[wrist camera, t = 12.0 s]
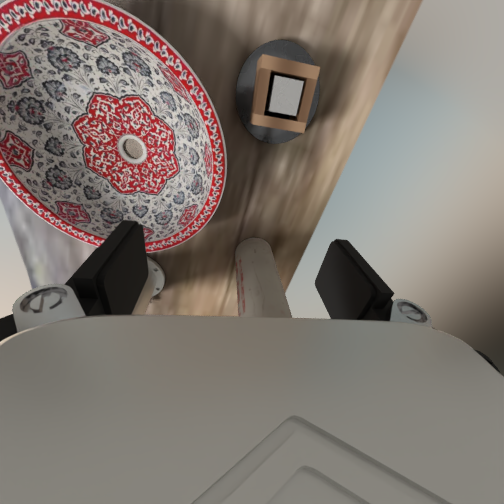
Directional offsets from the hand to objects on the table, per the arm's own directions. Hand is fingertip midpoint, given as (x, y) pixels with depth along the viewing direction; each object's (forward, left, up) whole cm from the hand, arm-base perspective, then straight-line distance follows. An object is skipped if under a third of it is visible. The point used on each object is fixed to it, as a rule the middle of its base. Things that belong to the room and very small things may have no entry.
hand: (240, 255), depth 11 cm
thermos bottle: (-20, -7, -31) cm, 37 cm away
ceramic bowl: (-2, +15, -31) cm, 34 cm away
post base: (+8, -6, -30) cm, 32 cm away
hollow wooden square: (+8, -6, -29) cm, 30 cm away
